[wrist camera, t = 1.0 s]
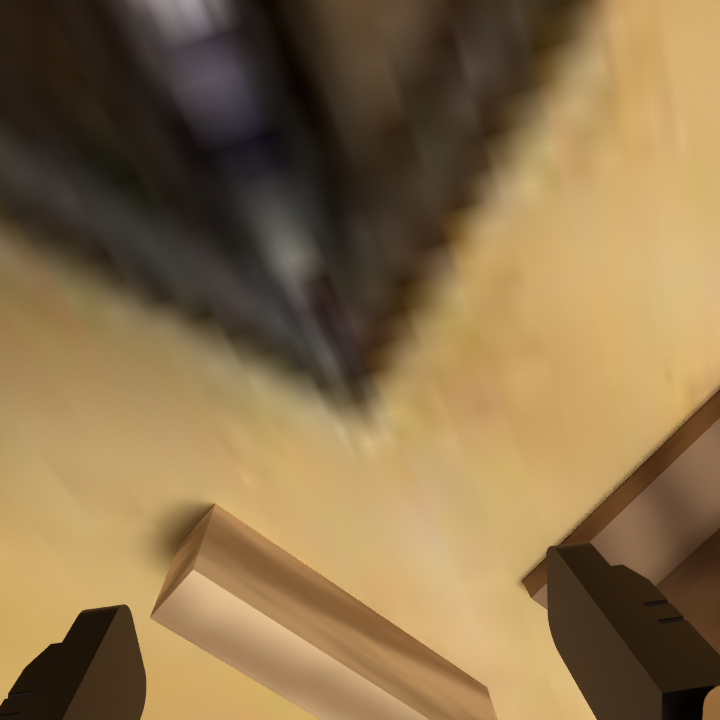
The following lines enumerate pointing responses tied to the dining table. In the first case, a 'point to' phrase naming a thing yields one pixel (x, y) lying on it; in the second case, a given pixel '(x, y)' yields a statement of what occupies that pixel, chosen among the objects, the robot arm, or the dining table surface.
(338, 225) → the dining table surface
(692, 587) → the stand
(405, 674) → the oak bar
